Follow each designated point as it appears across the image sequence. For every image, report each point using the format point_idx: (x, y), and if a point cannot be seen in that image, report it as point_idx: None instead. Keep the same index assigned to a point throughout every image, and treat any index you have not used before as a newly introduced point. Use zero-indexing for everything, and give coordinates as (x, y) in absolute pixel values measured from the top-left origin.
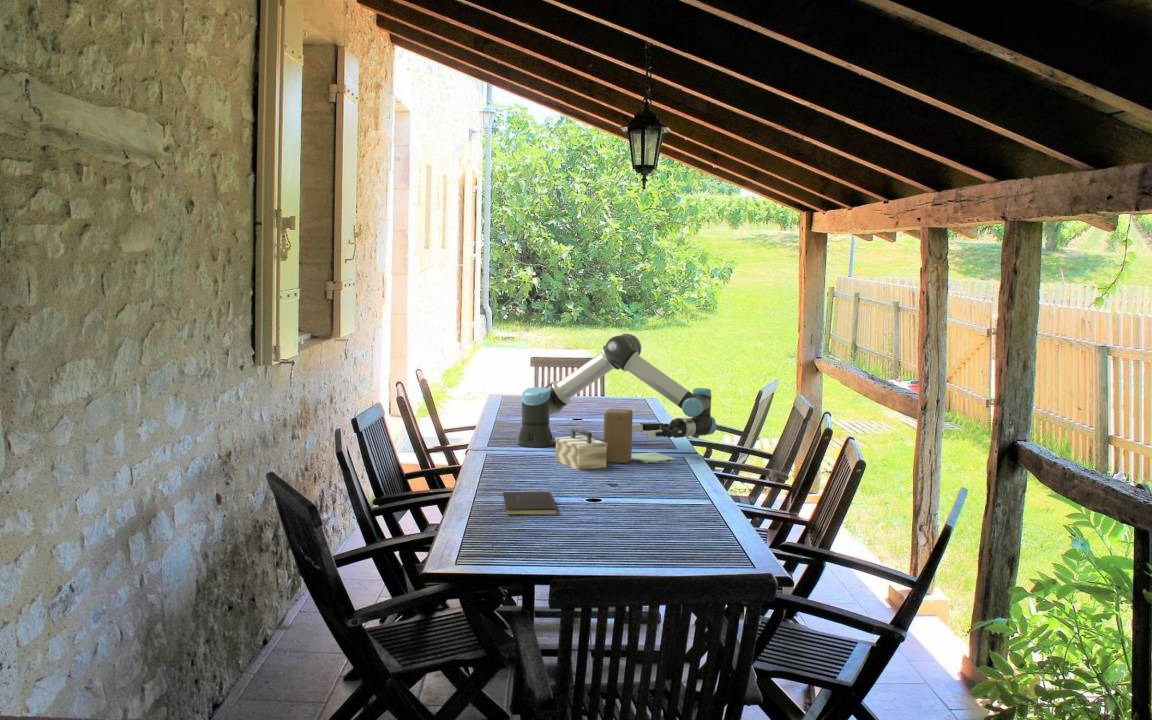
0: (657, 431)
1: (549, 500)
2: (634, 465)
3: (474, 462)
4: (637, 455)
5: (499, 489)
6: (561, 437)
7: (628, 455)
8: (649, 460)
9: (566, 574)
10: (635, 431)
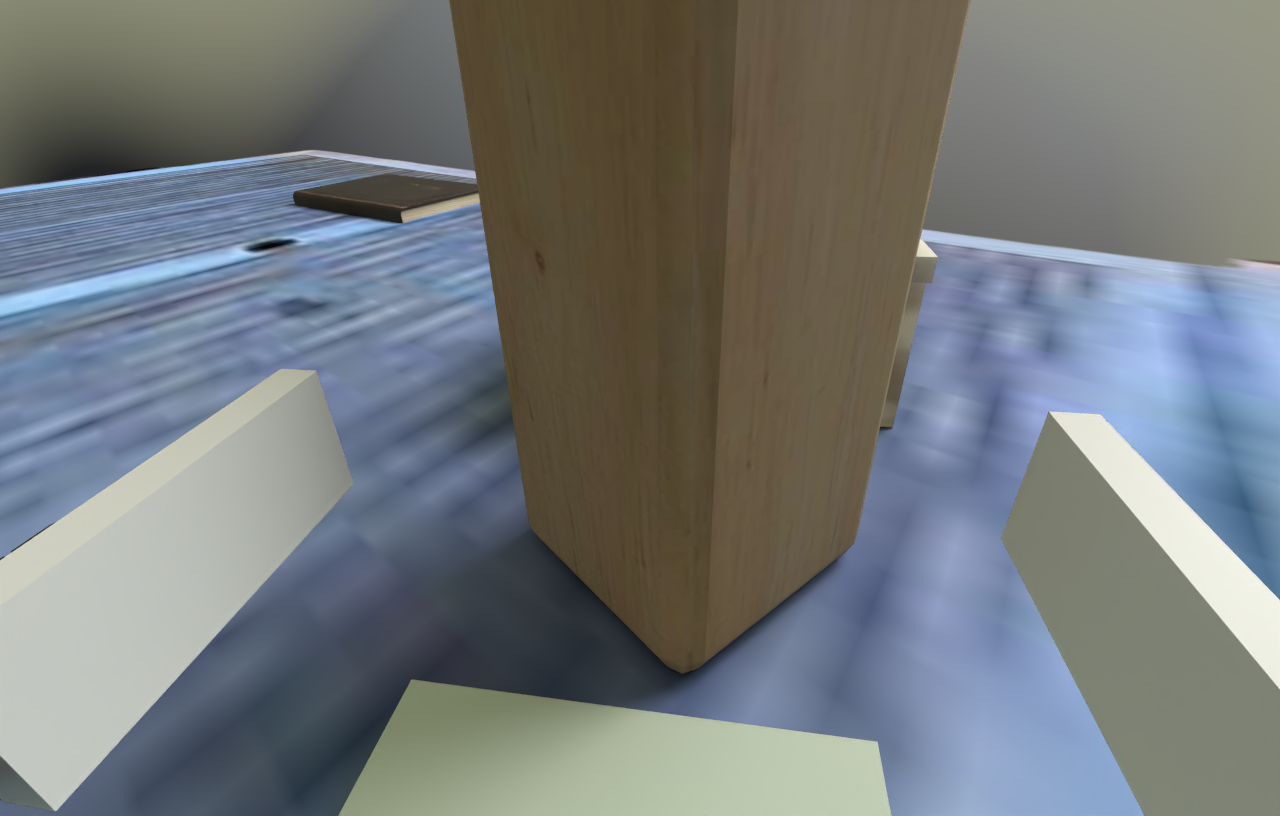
0: (86, 533)
1: (349, 196)
2: (449, 548)
3: None
4: None
5: None
6: None
7: (523, 481)
8: (404, 766)
9: (137, 171)
10: (1081, 678)
